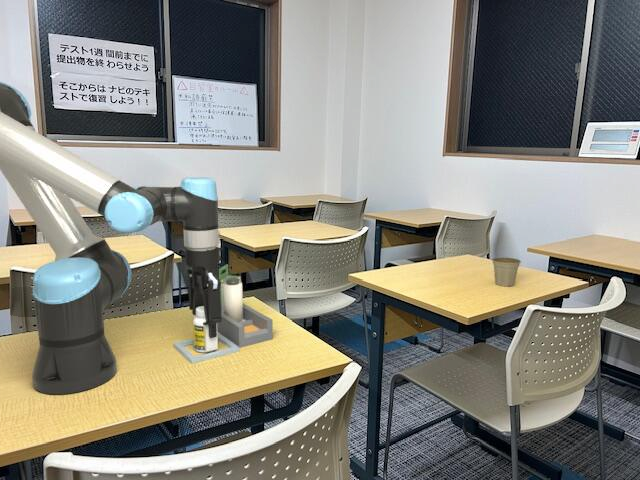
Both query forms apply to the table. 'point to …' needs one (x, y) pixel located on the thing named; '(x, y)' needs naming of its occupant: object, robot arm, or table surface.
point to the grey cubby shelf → (246, 328)
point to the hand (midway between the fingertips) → (206, 345)
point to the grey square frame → (194, 359)
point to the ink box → (223, 279)
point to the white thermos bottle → (233, 299)
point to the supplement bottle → (200, 330)
